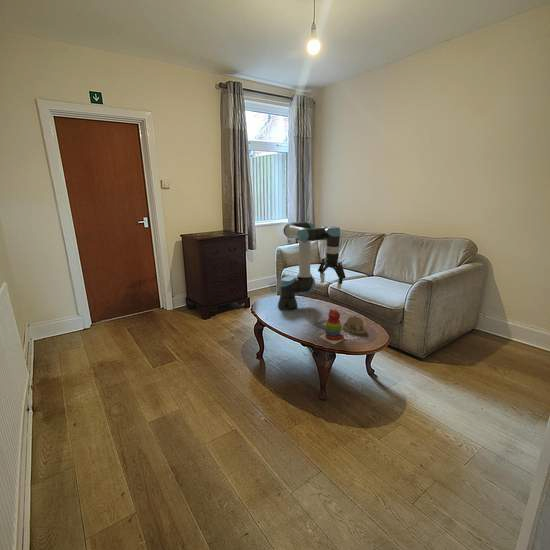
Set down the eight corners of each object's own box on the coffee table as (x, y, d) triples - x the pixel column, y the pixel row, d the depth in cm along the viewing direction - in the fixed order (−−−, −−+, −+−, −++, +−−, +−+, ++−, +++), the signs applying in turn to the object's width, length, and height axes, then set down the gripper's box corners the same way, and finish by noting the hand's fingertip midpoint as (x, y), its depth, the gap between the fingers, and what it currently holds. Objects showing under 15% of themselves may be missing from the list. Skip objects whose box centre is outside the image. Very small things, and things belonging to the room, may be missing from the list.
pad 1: (313, 324, 211) (313, 323, 211) (324, 319, 219) (324, 319, 219) (326, 330, 203) (326, 329, 202) (338, 325, 210) (338, 324, 210)
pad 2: (319, 337, 194) (319, 336, 194) (331, 331, 201) (331, 330, 201) (334, 344, 185) (334, 343, 185) (346, 338, 192) (346, 337, 192)
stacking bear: (345, 338, 191) (347, 311, 186) (332, 342, 186) (333, 315, 181) (333, 331, 200) (335, 305, 195) (321, 335, 195) (322, 308, 190)
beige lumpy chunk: (365, 327, 207) (366, 313, 204) (364, 335, 196) (365, 320, 194) (343, 325, 211) (344, 311, 208) (341, 332, 201) (342, 317, 198)
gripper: (313, 249, 195) (311, 281, 202) (345, 257, 177) (342, 292, 184) (321, 248, 200) (319, 279, 206) (353, 255, 182) (350, 289, 188)
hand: (330, 285), depth 195 cm, fingers open, 13 cm apart
